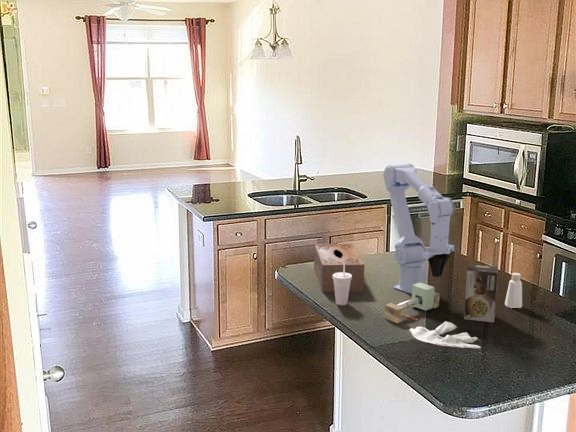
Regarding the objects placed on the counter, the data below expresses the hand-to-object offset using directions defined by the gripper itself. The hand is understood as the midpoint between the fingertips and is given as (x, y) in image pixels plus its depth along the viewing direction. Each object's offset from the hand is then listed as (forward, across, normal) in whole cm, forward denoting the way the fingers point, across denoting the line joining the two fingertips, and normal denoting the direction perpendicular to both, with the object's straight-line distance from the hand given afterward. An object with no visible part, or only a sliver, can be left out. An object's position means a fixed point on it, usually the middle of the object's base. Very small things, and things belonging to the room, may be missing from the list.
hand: (436, 276), depth 198 cm
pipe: (+7, -12, 0) cm, 14 cm away
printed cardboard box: (+10, 0, -16) cm, 19 cm away
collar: (+9, -7, 0) cm, 12 cm away
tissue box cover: (+10, -8, +38) cm, 40 cm away
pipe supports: (+9, -12, 0) cm, 15 cm away
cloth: (+10, -18, -18) cm, 27 cm away
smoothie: (+10, -24, +20) cm, 32 cm away
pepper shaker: (+10, +18, -18) cm, 27 cm away
